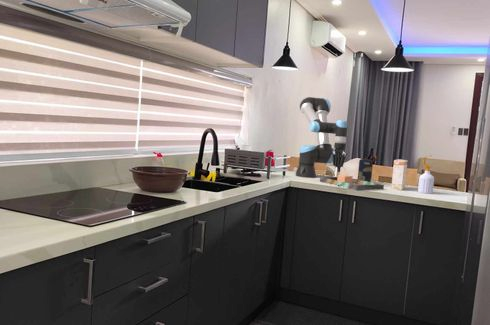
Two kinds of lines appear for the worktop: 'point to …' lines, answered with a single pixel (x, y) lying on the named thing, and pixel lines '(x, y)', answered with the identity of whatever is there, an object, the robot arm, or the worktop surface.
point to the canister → (365, 170)
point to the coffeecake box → (399, 174)
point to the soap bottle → (426, 181)
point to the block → (345, 178)
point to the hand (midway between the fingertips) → (336, 176)
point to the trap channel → (362, 184)
